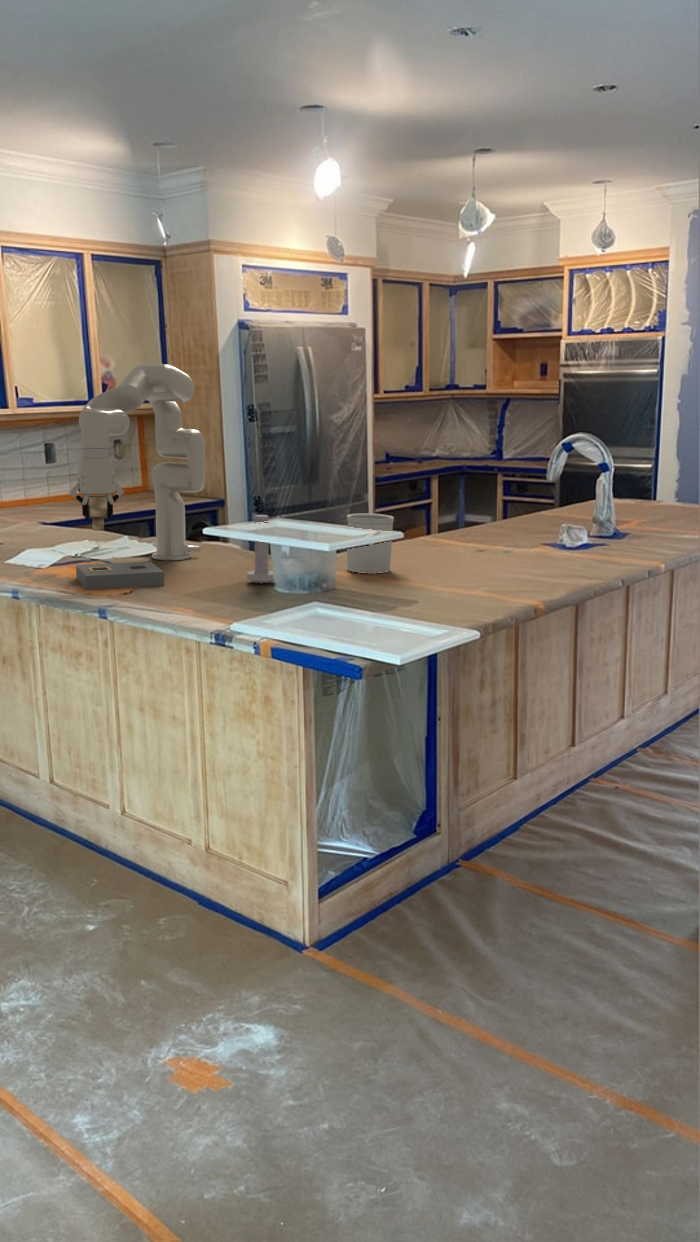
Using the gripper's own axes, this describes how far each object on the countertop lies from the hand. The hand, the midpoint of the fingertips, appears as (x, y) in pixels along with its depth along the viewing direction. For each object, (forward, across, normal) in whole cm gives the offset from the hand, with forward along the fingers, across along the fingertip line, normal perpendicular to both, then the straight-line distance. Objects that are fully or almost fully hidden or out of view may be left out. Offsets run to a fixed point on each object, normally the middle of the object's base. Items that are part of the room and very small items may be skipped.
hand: (97, 517), depth 288 cm
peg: (+4, 0, 0) cm, 4 cm away
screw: (+19, -45, +14) cm, 51 cm away
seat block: (+19, -6, 0) cm, 20 cm away
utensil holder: (+19, -84, +5) cm, 86 cm away
